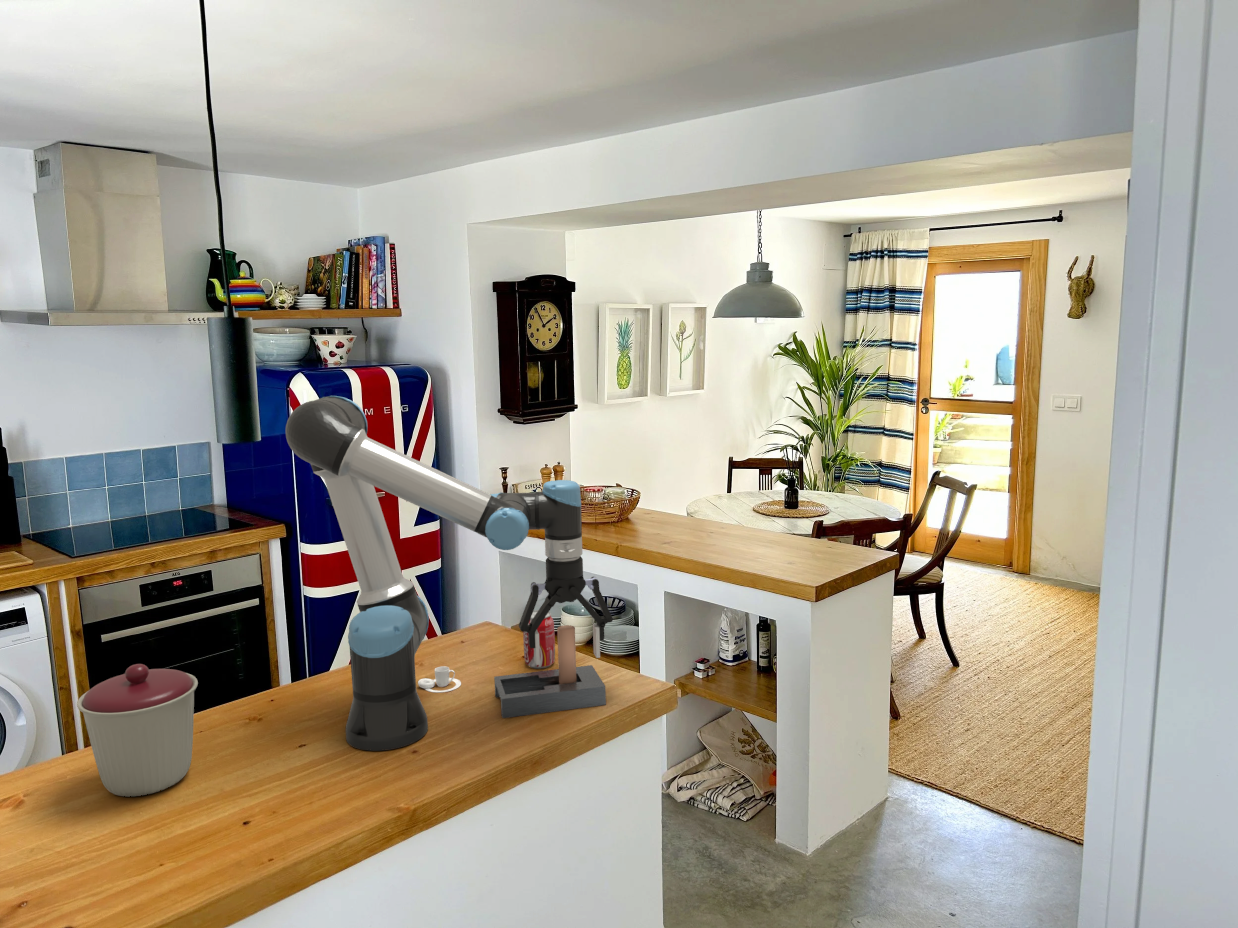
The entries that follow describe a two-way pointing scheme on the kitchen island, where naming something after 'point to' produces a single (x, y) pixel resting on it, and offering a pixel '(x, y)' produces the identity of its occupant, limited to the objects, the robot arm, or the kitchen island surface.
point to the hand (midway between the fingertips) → (567, 659)
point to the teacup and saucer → (439, 680)
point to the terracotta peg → (566, 654)
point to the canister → (141, 728)
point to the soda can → (541, 643)
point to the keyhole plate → (548, 692)
